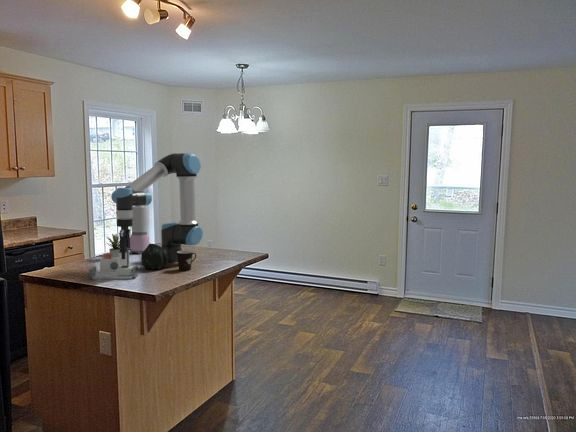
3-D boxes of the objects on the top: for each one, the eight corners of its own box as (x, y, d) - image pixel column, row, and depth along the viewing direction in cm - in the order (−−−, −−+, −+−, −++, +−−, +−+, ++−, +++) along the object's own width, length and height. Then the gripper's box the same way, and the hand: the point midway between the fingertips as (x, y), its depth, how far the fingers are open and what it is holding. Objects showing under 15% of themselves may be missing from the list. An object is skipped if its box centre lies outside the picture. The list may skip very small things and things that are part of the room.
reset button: (112, 260, 234) (112, 253, 233) (110, 261, 230) (110, 254, 229) (104, 260, 233) (104, 253, 233) (102, 261, 229) (102, 254, 229)
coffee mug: (179, 272, 238) (179, 253, 237) (175, 268, 246) (175, 251, 245) (200, 270, 244) (200, 252, 243) (195, 267, 251) (195, 249, 250)
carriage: (133, 272, 227) (133, 246, 226) (131, 275, 221) (130, 248, 220) (119, 272, 226) (119, 246, 225) (116, 275, 220) (116, 248, 219)
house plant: (98, 258, 271) (97, 231, 270) (120, 255, 280) (120, 230, 279) (106, 261, 261) (106, 234, 259) (129, 259, 270) (129, 232, 268)
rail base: (137, 275, 228) (137, 266, 228) (135, 278, 221) (135, 268, 221) (93, 276, 225) (93, 266, 224) (88, 279, 218) (88, 269, 218)
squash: (177, 257, 251) (161, 237, 251) (165, 263, 236) (147, 241, 237) (160, 272, 254) (144, 252, 255) (147, 279, 240) (130, 257, 240)
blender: (142, 254, 285) (142, 205, 282) (125, 253, 288) (125, 204, 285) (155, 250, 300) (155, 204, 297) (139, 249, 303) (138, 203, 300)
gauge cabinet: (121, 271, 236) (121, 256, 235) (118, 274, 230) (118, 259, 229) (103, 271, 235) (103, 257, 234) (100, 274, 228) (99, 259, 228)
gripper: (121, 216, 229) (121, 260, 231) (112, 220, 212) (112, 268, 214) (136, 216, 230) (136, 260, 233) (128, 220, 213) (129, 267, 215)
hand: (125, 264), depth 223 cm, fingers open, 5 cm apart
